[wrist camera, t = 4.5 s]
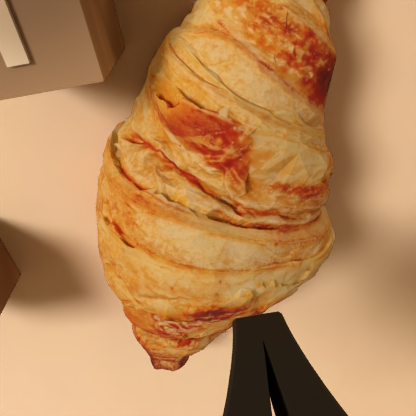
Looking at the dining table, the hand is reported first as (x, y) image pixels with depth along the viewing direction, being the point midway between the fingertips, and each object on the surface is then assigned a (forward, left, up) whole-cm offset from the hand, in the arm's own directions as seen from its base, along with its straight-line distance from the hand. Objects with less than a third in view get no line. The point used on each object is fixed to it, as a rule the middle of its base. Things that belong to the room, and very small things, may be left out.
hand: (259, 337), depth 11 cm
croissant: (+1, 0, -9) cm, 9 cm away
